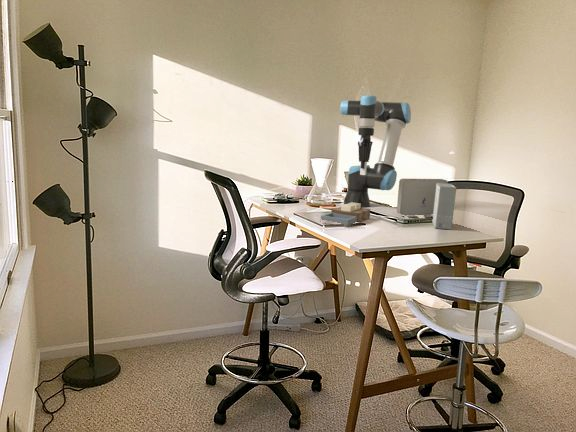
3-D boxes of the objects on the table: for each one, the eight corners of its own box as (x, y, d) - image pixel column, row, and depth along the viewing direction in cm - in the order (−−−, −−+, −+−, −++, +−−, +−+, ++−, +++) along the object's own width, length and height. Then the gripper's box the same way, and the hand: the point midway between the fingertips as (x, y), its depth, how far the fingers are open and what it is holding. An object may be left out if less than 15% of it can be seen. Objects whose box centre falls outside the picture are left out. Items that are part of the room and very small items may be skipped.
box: (330, 219, 229) (330, 212, 228) (356, 223, 221) (357, 216, 220) (320, 222, 220) (320, 215, 220) (347, 227, 213) (347, 219, 212)
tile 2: (351, 207, 236) (351, 202, 236) (360, 208, 234) (360, 203, 233) (346, 208, 232) (347, 203, 232) (356, 209, 229) (356, 204, 229)
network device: (401, 219, 237) (405, 180, 233) (393, 215, 245) (397, 177, 241) (446, 218, 243) (450, 180, 239) (437, 215, 251) (441, 178, 247)
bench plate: (344, 215, 241) (345, 205, 240) (369, 219, 234) (370, 209, 233) (330, 219, 229) (331, 209, 228) (356, 223, 221) (357, 213, 220)
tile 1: (345, 208, 231) (345, 203, 230) (354, 210, 228) (355, 205, 228) (341, 210, 227) (341, 205, 226) (350, 211, 224) (350, 206, 224)
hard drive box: (451, 230, 216) (456, 187, 212) (434, 228, 218) (439, 186, 214) (447, 223, 231) (452, 183, 227) (431, 222, 233) (435, 182, 229)
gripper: (364, 127, 239) (361, 173, 244) (354, 126, 228) (350, 174, 233) (378, 127, 235) (374, 174, 240) (368, 127, 224) (364, 176, 229)
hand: (362, 174), depth 236 cm, fingers closed
